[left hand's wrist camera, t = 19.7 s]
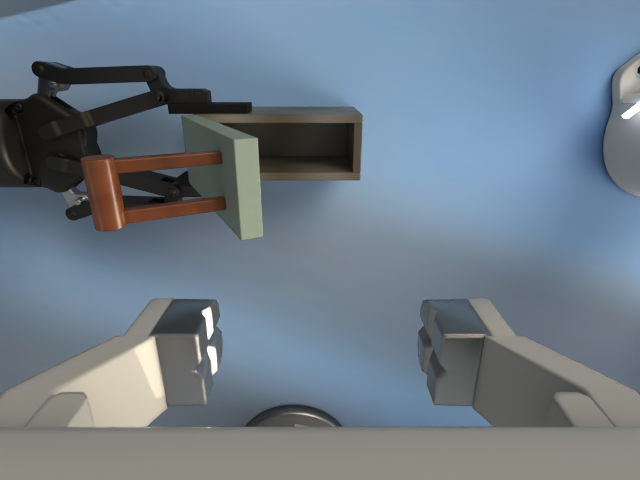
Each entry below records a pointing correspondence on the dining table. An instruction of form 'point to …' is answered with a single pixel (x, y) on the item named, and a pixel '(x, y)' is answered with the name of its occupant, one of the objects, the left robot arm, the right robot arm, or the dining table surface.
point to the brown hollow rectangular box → (302, 141)
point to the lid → (204, 175)
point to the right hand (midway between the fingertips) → (251, 144)
